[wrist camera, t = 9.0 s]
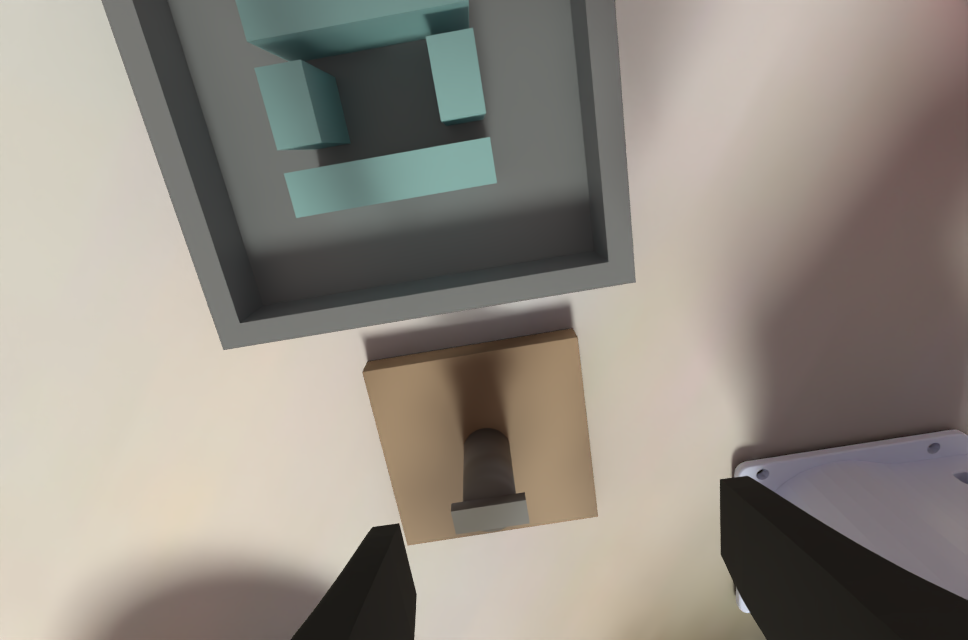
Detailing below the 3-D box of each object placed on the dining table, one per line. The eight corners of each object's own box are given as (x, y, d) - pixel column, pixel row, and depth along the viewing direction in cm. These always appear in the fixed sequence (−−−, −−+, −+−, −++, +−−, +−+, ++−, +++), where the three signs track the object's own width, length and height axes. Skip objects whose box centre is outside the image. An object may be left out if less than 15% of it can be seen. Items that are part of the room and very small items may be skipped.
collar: (455, -52, 15) (452, -107, 12) (491, 176, 17) (496, 182, 14) (271, -18, 16) (217, -62, 12) (329, 204, 18) (296, 218, 14)
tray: (574, -197, 15) (595, -265, 12) (614, 264, 19) (635, 282, 17) (115, -108, 15) (46, -157, 13) (254, 324, 20) (223, 349, 17)
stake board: (572, 328, 20) (604, 385, 15) (592, 500, 22) (625, 595, 18) (367, 361, 20) (335, 427, 15) (410, 528, 23) (394, 630, 18)
